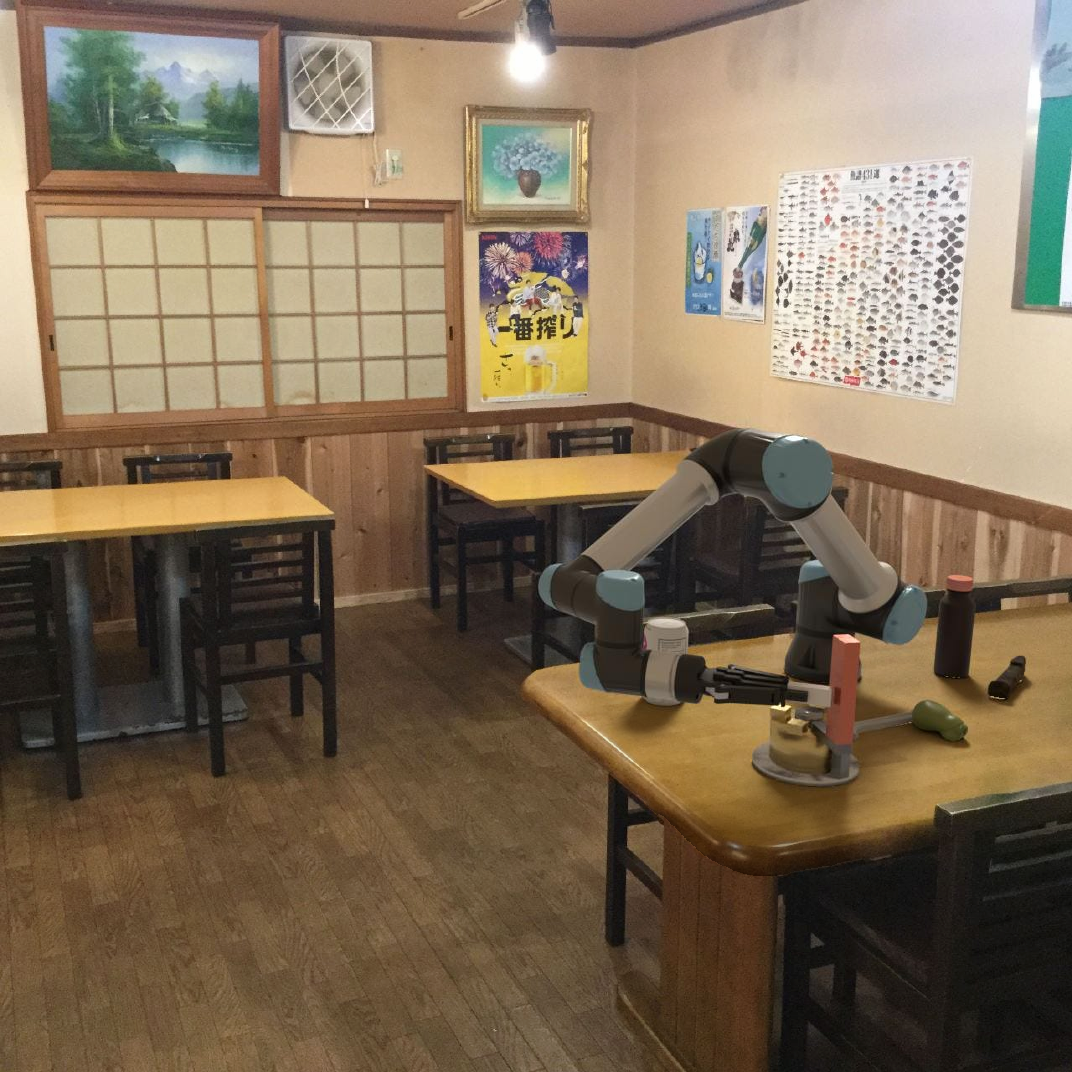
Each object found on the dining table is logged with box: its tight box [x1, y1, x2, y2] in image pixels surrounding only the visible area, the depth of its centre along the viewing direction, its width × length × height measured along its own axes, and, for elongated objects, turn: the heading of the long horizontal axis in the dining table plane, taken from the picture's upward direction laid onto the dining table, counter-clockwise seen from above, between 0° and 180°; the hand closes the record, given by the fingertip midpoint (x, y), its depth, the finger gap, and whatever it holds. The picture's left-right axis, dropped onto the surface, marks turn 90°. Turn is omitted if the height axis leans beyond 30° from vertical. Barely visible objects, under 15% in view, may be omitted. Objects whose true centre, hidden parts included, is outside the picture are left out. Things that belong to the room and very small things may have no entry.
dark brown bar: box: [987, 655, 1027, 700], centre depth 230 cm, size 19×4×5 cm, turn 143°
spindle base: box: [751, 706, 861, 788], centre depth 190 cm, size 17×17×10 cm
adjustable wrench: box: [853, 710, 913, 741], centre depth 207 cm, size 25×6×2 cm, turn 112°
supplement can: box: [641, 616, 690, 707], centre depth 218 cm, size 8×8×15 cm
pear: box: [912, 699, 969, 742], centre depth 205 cm, size 6×5×10 cm
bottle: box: [933, 574, 977, 679], centre depth 236 cm, size 7×7×20 cm
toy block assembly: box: [768, 634, 861, 773], centre depth 185 cm, size 19×12×24 cm, turn 11°
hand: (831, 697), depth 177 cm, fingers closed
